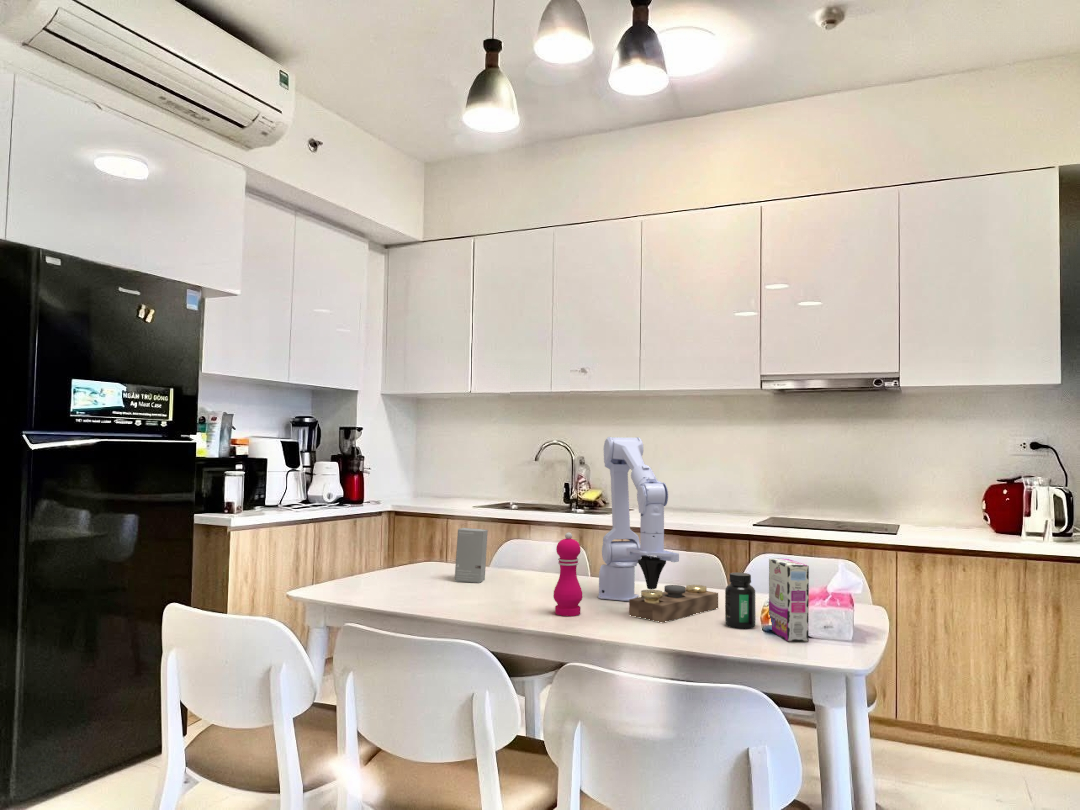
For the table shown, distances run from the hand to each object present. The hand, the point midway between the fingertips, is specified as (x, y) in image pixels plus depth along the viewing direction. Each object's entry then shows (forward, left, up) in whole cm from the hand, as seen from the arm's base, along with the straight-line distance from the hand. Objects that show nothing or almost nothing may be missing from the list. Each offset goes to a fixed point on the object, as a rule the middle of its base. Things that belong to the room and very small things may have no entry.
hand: (651, 588), depth 183 cm
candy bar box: (+32, -4, -7) cm, 33 cm away
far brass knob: (+8, +17, -7) cm, 20 cm away
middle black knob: (+4, +9, -6) cm, 11 cm away
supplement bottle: (+21, +1, -7) cm, 22 cm away
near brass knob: (0, 0, -6) cm, 6 cm away
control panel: (+4, +9, -7) cm, 12 cm away
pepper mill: (-20, -4, -7) cm, 22 cm away
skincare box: (-62, +26, -7) cm, 68 cm away
